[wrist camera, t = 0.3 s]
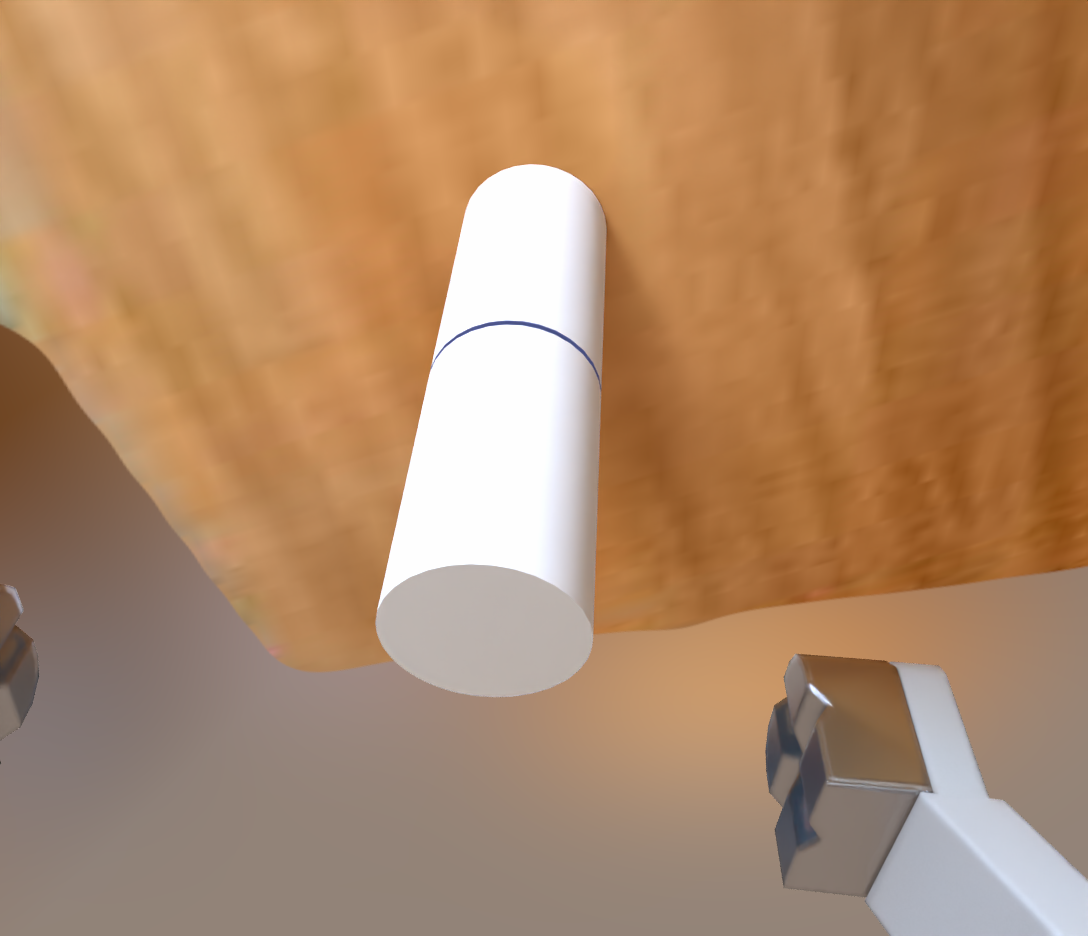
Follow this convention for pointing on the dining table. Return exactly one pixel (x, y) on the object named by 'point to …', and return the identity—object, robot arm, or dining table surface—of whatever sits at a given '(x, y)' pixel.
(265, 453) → the dining table surface
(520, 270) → the cylindrical container
